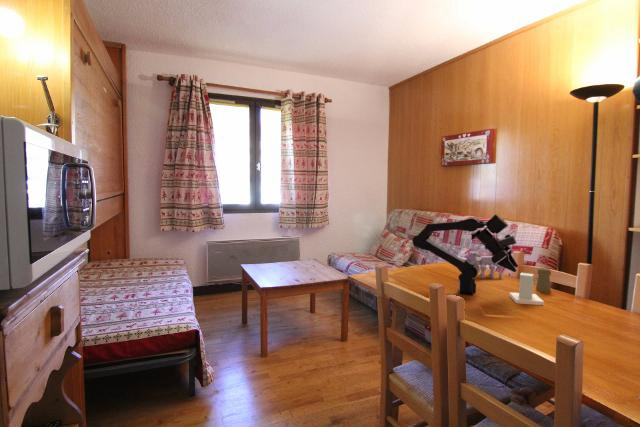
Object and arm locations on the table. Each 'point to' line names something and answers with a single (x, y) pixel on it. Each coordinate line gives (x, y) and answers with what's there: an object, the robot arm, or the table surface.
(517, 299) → the tower top
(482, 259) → the toy sheep
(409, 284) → the table surface
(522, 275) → the block
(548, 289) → the olive green vase
